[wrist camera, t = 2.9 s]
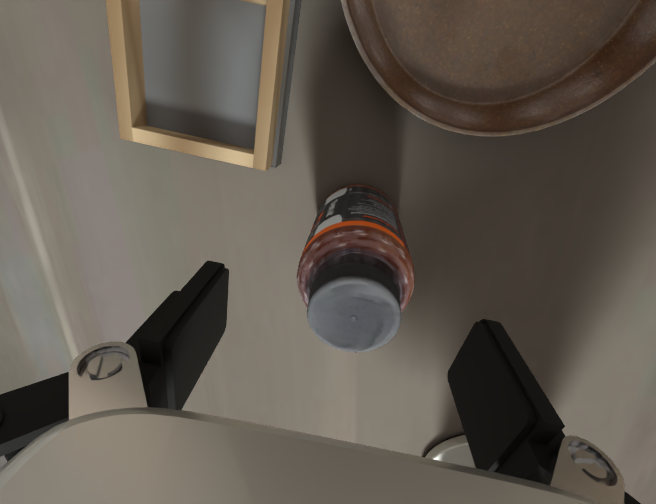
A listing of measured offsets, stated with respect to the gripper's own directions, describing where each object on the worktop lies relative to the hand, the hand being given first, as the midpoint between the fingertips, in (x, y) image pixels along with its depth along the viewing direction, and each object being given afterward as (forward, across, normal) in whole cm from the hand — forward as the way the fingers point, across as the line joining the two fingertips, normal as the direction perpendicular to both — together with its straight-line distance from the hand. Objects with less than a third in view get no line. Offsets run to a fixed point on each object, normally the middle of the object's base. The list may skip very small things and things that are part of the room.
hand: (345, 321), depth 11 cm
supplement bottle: (+13, -1, +1) cm, 13 cm away
